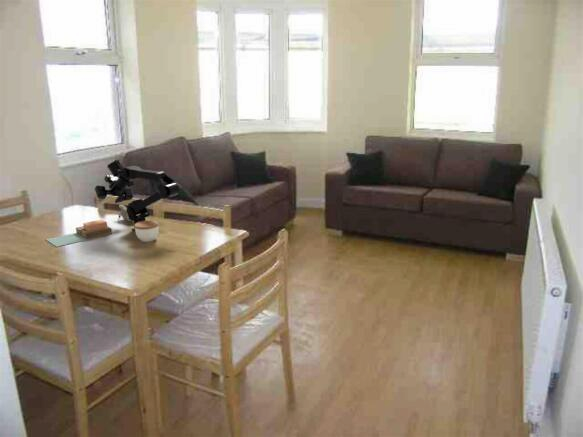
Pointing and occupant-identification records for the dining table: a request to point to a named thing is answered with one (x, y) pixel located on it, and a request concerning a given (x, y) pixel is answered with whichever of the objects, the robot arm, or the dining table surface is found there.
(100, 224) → the reddish orange flat block
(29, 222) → the dining table surface
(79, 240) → the mat
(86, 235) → the block
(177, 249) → the dining table surface
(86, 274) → the dining table surface
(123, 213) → the decorative bird
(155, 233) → the lidded jar
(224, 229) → the dining table surface
